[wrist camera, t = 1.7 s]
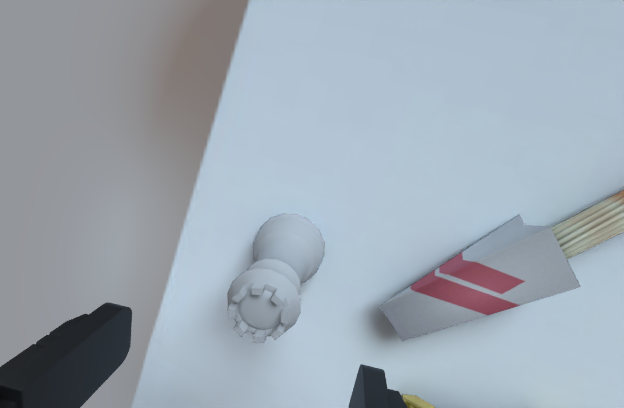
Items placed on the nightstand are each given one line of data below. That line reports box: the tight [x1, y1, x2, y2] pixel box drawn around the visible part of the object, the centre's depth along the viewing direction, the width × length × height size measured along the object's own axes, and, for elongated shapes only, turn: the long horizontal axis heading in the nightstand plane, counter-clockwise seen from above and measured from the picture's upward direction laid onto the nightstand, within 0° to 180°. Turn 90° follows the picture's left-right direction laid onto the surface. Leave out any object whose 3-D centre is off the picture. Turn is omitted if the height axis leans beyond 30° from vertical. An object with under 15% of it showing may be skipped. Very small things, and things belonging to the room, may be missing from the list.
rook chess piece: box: [228, 213, 325, 343], centre depth 16 cm, size 4×4×8 cm
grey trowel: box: [380, 191, 624, 341], centre depth 17 cm, size 4×3×20 cm
